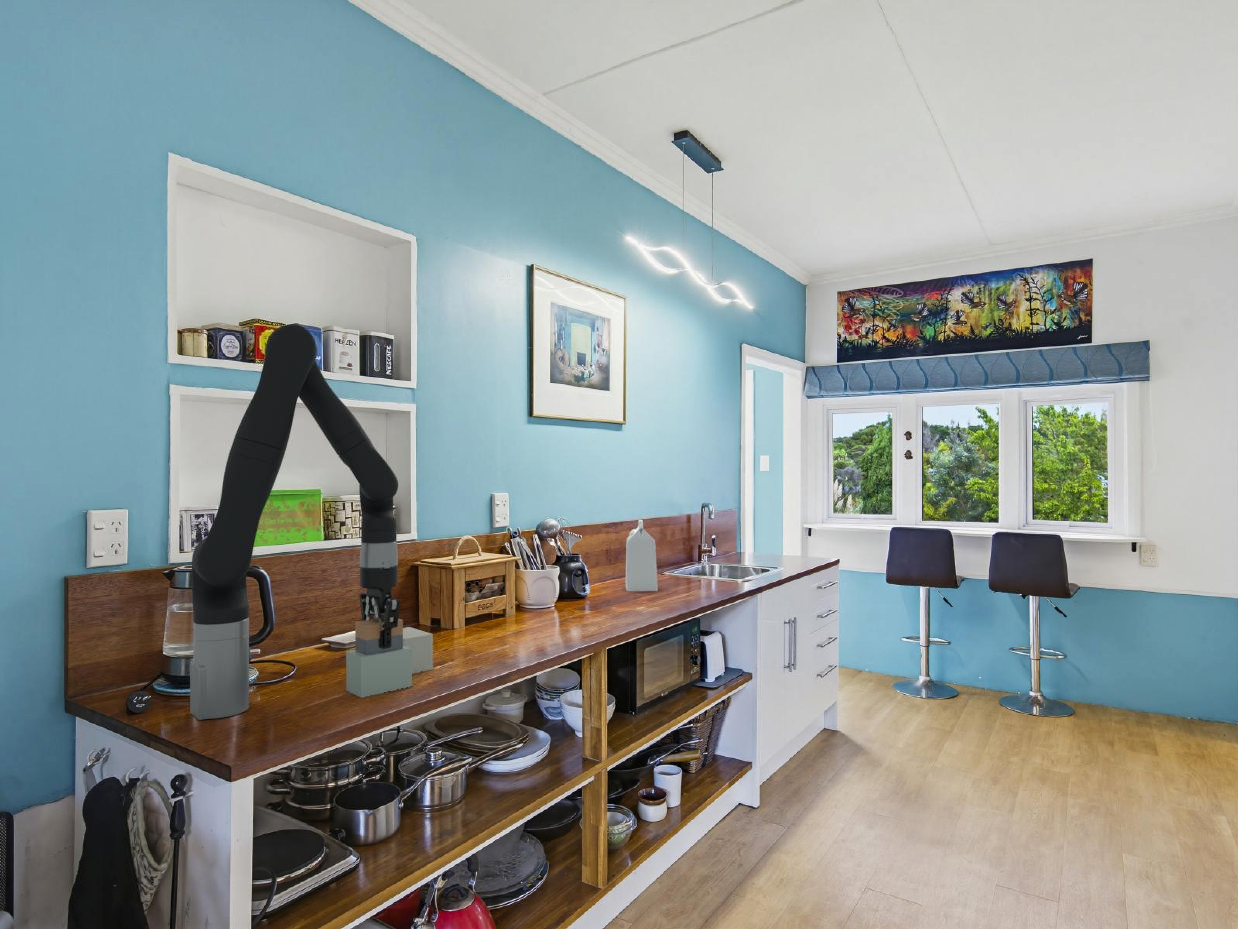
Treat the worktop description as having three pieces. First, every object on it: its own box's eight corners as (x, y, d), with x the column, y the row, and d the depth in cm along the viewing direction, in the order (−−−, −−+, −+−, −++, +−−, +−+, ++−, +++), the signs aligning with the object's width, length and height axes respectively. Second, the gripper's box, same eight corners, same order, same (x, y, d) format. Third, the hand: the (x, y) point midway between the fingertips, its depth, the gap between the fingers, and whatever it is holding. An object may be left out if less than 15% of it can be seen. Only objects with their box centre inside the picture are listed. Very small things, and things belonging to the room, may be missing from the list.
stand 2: (404, 675, 164) (404, 639, 164) (381, 666, 172) (381, 631, 172) (432, 669, 168) (432, 634, 168) (409, 660, 176) (409, 627, 176)
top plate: (366, 640, 149) (366, 620, 149) (355, 636, 153) (355, 617, 153) (402, 634, 155) (402, 615, 155) (391, 630, 158) (391, 611, 158)
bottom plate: (366, 655, 149) (366, 640, 149) (355, 651, 153) (355, 636, 153) (402, 648, 155) (402, 634, 155) (391, 644, 158) (391, 630, 158)
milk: (657, 591, 277) (657, 521, 277) (627, 591, 276) (626, 521, 277) (654, 586, 289) (654, 519, 289) (625, 586, 288) (624, 519, 288)
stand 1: (361, 697, 147) (361, 657, 147) (346, 690, 152) (346, 651, 153) (412, 686, 155) (411, 648, 155) (396, 679, 160) (396, 642, 160)
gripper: (346, 562, 157) (347, 643, 156) (377, 568, 146) (378, 655, 146) (380, 559, 162) (380, 637, 162) (412, 565, 151) (412, 648, 151)
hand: (379, 645), depth 154 cm, fingers closed on bottom plate, top plate, 5 cm apart
